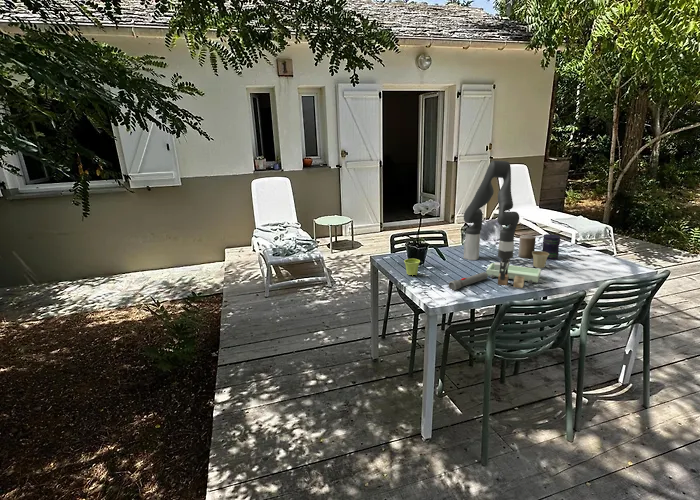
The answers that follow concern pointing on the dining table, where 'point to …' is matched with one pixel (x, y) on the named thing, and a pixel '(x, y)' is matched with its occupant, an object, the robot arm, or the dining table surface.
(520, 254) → the pillar candle
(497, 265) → the grey part
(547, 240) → the storage jar
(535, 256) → the flower pot
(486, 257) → the dining table surface
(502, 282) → the walnut part
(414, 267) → the plant pot
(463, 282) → the flashlight
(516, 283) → the beech part
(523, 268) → the cart
